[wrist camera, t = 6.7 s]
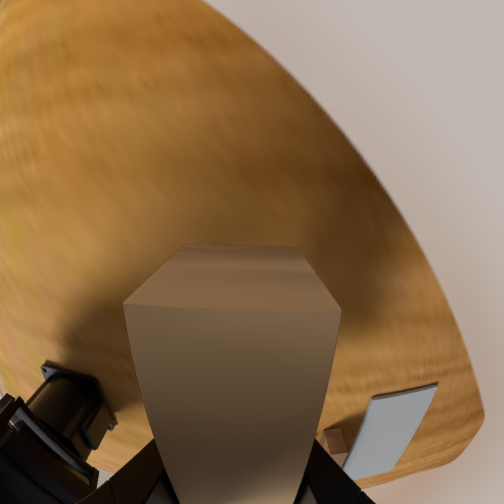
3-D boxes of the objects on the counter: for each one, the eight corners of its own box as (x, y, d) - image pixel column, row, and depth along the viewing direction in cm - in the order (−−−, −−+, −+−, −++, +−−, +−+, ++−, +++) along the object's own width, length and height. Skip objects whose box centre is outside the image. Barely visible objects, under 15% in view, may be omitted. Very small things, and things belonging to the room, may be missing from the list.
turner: (134, 243, 7) (46, 293, 4) (349, 248, 8) (429, 305, 4) (183, 488, 10) (172, 546, 7) (297, 491, 10) (305, 550, 7)
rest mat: (335, 480, 22) (336, 482, 22) (371, 397, 19) (372, 400, 19) (390, 468, 22) (391, 470, 22) (435, 384, 19) (437, 386, 19)
